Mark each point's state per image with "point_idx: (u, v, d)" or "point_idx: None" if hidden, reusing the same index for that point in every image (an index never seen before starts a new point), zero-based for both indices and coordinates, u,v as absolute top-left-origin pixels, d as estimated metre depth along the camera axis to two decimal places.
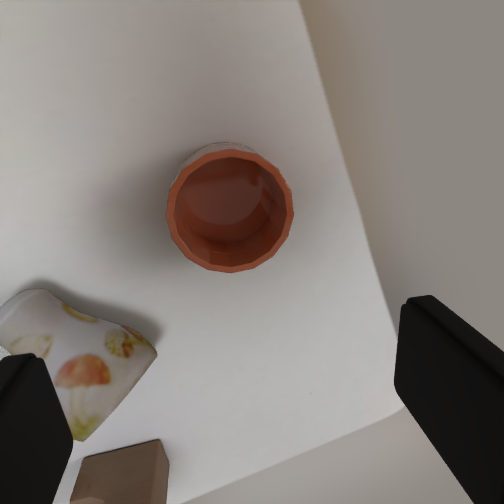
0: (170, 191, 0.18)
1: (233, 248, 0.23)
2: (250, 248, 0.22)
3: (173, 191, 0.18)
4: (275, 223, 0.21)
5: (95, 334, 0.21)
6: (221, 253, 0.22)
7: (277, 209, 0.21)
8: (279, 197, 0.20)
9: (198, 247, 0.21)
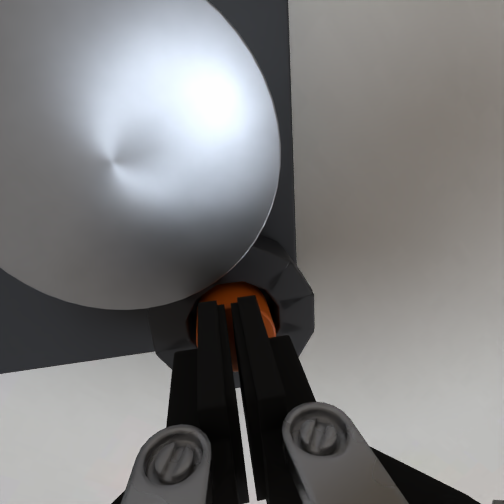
0: None
1: None
2: None
3: None
4: None
5: None
6: None
7: None
8: None
9: None
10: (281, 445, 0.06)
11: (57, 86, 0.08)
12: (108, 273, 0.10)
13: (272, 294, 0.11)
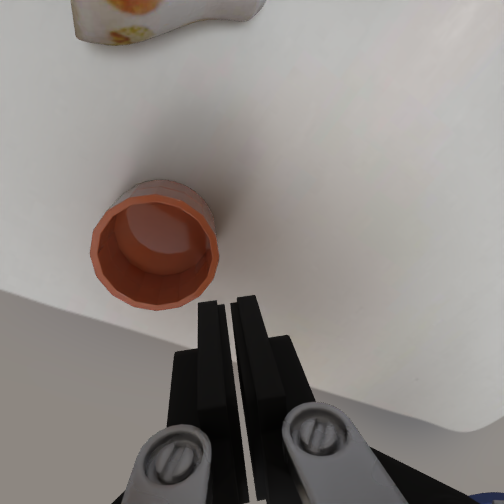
0: (214, 235, 0.19)
1: None
2: (108, 227, 0.20)
3: (212, 237, 0.19)
4: (112, 263, 0.21)
5: (164, 27, 0.16)
6: None
7: (121, 270, 0.22)
8: (131, 284, 0.21)
9: None
10: (281, 445, 0.06)
11: None
12: None
13: None
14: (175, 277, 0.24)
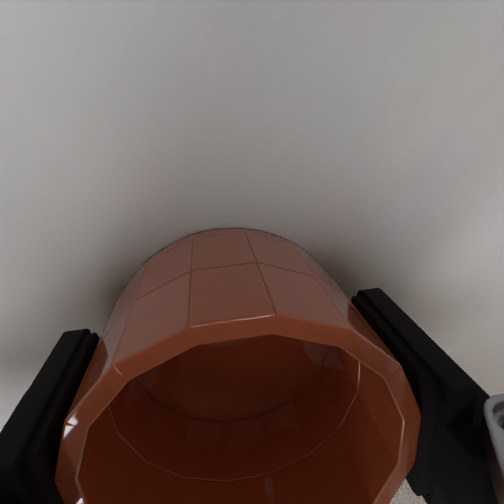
0: (418, 413, 0.07)
1: None
2: None
3: (412, 419, 0.07)
4: (119, 443, 0.08)
5: None
6: None
7: (140, 447, 0.09)
8: (165, 487, 0.09)
9: None
10: (476, 438, 0.06)
11: None
12: None
13: None
14: (252, 433, 0.11)
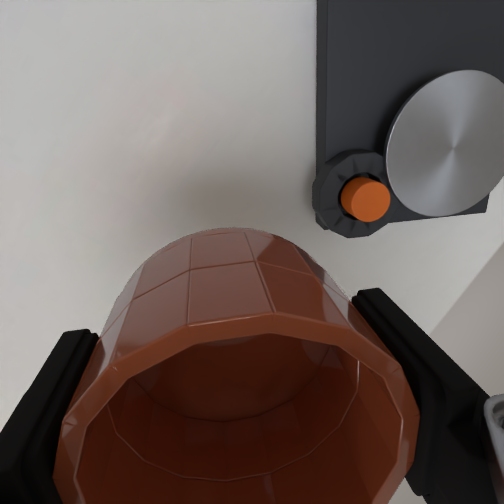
0: (417, 412, 0.07)
1: None
2: None
3: (411, 418, 0.07)
4: (118, 442, 0.08)
5: None
6: None
7: (139, 446, 0.09)
8: (163, 486, 0.09)
9: None
10: (476, 438, 0.06)
11: (482, 131, 0.21)
12: (408, 138, 0.20)
13: None
14: (251, 432, 0.11)
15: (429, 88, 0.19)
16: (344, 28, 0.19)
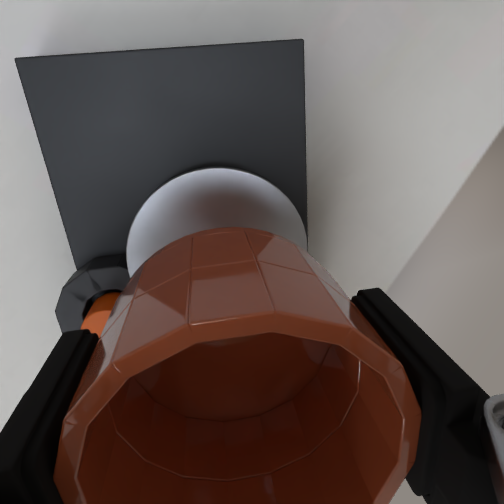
0: (418, 412, 0.07)
1: None
2: None
3: (413, 418, 0.07)
4: (118, 442, 0.08)
5: None
6: None
7: (140, 446, 0.09)
8: (164, 486, 0.09)
9: None
10: (475, 438, 0.06)
11: None
12: (152, 251, 0.16)
13: None
14: (252, 432, 0.11)
15: (164, 192, 0.15)
16: (55, 115, 0.15)
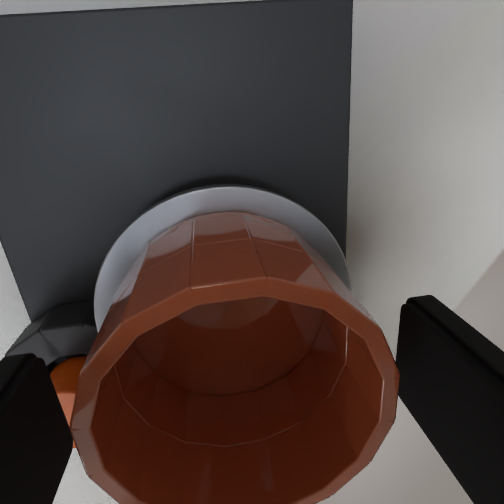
0: (396, 373, 0.07)
1: None
2: None
3: (391, 378, 0.07)
4: (125, 407, 0.09)
5: None
6: None
7: (144, 413, 0.10)
8: (167, 449, 0.09)
9: None
10: None
11: None
12: None
13: None
14: (248, 405, 0.12)
15: (147, 222, 0.10)
16: None
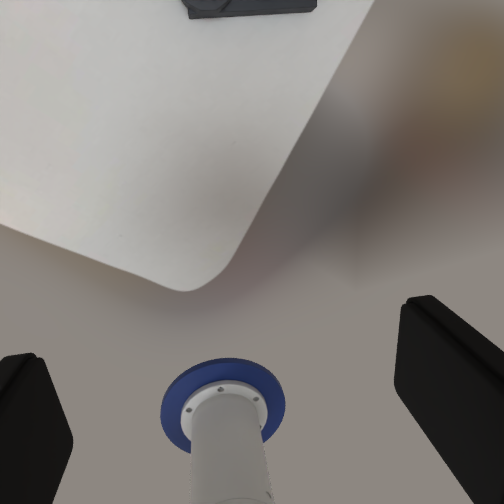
0: None
1: None
2: None
3: None
4: None
5: None
6: None
7: None
8: None
9: None
10: None
11: None
12: None
13: None
14: None
15: None
16: None
